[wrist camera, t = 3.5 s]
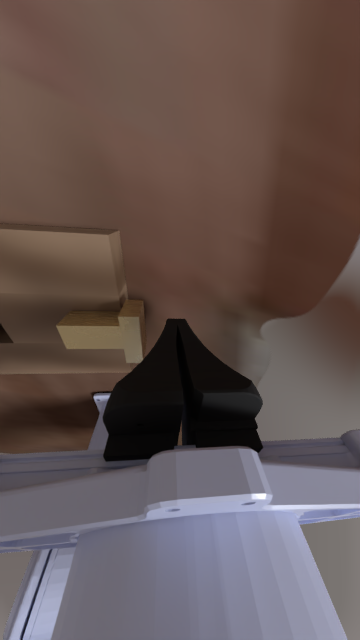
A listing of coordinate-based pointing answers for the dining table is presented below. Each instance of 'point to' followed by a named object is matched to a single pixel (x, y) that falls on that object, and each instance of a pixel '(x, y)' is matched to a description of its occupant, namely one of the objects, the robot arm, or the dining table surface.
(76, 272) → the board
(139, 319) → the key
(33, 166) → the dining table surface
